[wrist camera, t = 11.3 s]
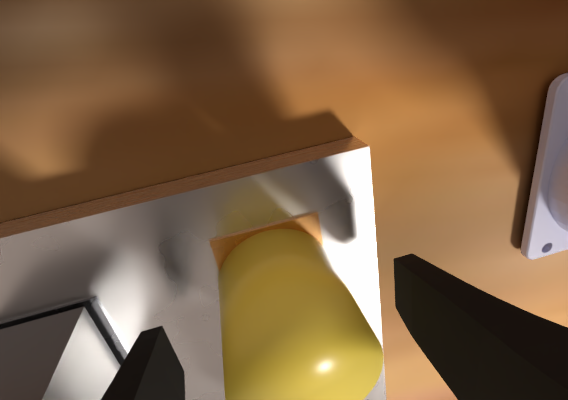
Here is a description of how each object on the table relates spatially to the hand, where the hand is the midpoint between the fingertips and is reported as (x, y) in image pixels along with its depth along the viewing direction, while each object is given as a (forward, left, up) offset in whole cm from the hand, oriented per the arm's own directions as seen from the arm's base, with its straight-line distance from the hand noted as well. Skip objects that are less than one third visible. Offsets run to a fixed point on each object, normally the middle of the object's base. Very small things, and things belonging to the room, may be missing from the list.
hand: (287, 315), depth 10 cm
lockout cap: (0, 0, -2) cm, 2 cm away
